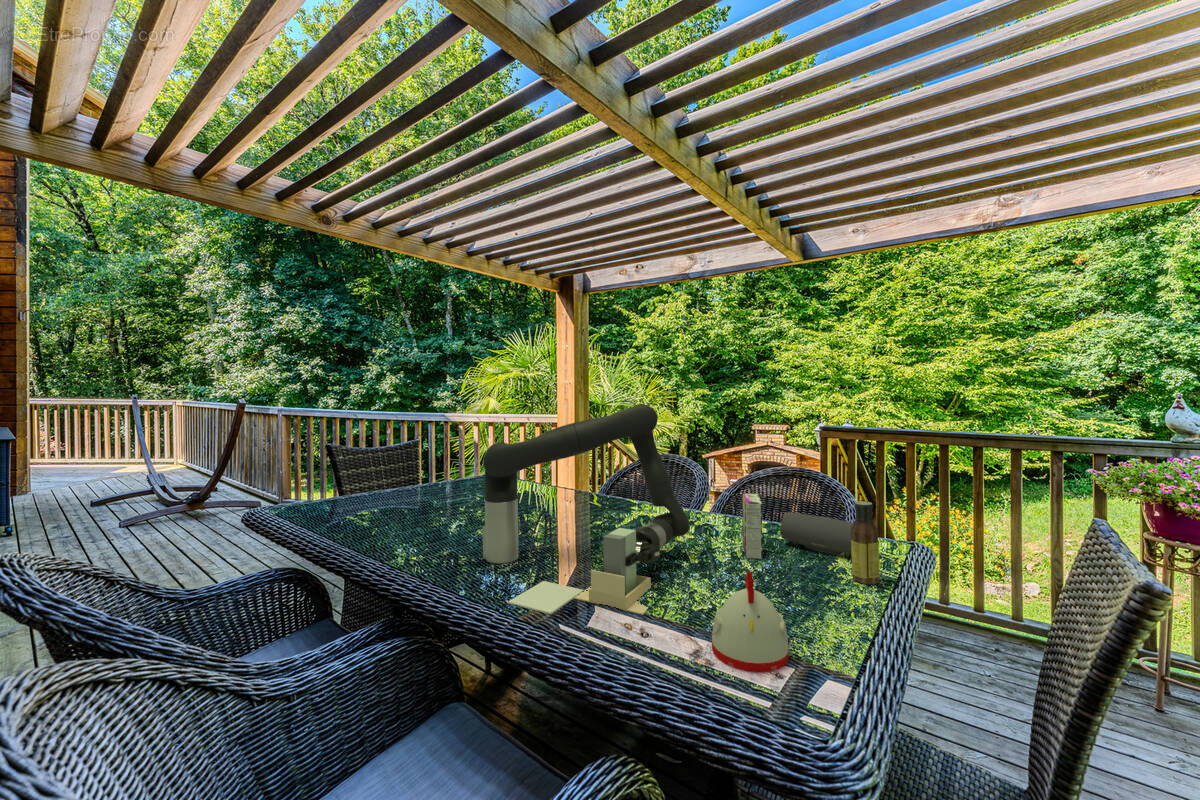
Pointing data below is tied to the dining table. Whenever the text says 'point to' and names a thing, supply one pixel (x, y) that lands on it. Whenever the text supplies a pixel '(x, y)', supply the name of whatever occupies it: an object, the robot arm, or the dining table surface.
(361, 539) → the dining table surface
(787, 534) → the bluetooth speaker
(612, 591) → the tan open holder
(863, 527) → the sauce bottle
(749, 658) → the kitchen timer
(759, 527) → the candy bar box
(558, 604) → the mat
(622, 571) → the slim sage box
